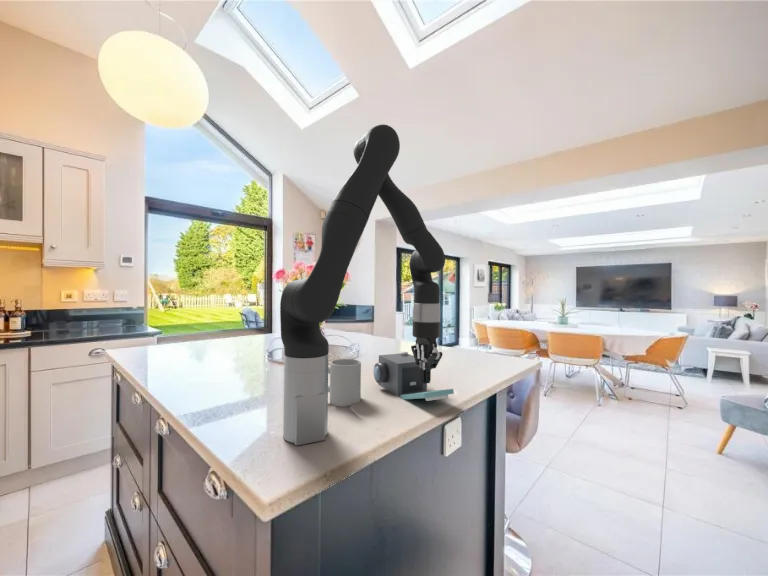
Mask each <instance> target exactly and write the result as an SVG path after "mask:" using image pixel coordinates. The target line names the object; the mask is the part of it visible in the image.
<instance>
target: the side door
mask: <svg viewBox="0 0 768 576" xmlns="http://www.w3.org/2000/svg"><path fill="white" fill-rule="evenodd" d="M454 392H455V391H454V388H447V389H446V388H445V389H437V390H427V391H425V392H418V393H412V394H405V395H400V396H399V397H400V398H401V399H402V400H414V399H415V400H416V399H418V400H419V399H425V401H426V402H429V401H430V402H431V401H435V400H442V399H447V398H449V395H453V394H455V393H454Z"/></svg>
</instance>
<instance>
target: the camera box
mask: <svg viewBox="0 0 768 576" xmlns="http://www.w3.org/2000/svg"><path fill="white" fill-rule="evenodd" d="M373 377H374V380H375V382H376V383H377V384H378V386H380V387H381V388H383V389H385V390H386V391H388V392H390V393H391V394H393V395H394V396H395V397H401V396H400V395H405V394H412V393H418V392H425V391H428V383H426V384H424V383H422V382H421V369H420V368H419V365H417V364H416V361H415V358H414V355H412V354H409V352H408V351H400V353H391V354H390V353H389V354H379V355H378V362H376V363H375V364H374V366H373Z"/></svg>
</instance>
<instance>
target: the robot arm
mask: <svg viewBox="0 0 768 576" xmlns="http://www.w3.org/2000/svg"><path fill="white" fill-rule="evenodd" d="M400 143H401V142H400V138H399V135H398V133H397V131H396V130H395V128H393V127H392V126H391V125H388V124H378V125H375V126H374V127H371V128H370V129H369V130H367V131H366V132H365V133H364V134H363V135H362V136H361V137H360V138H358V140H357V141H355V144H354V146H353V157H354V159H355V161H356V162H355V163H356V164H357V166H356V167H355V169H354V171H352V173H351V175H350V176H349V177H348V178H347V179H346V181H345V182H344V183H343V185H342V186H341V187H340V188H339V190H338V192H337V193H336V195H335V196H334V198H333V199H332V201H331V203H330V206H329V208H328V210H327V212H326V214H325V216H324V219H323V223H322V227H321V248H320V253H319V256H318V258H317V259H316V263H315V265H314V267H312V270H311V271H310V272H311V273H310V274H309V275H308V277H307V278H305V279H304V278H303V279H301V278H300V279H295V280H292V281H291V282H289V283H288V284H286V286H285V287H284V288H283V290H282V293H281V297H280V307H279V311H280V313H279V314H280V315H279V316H280V321H279V322H280V338H281V342H282V344H283V349H284V354H283V355H284V357H283V359H284V360H283V361H284V362H283V425H282V427H283V429H282V430H283V431H282V433H283V434H282V435H283V437H282V438H283V439H284V440H285V441H287V442H288V443H292V444H294V446H301V445H307V444H311V443H317V442H321V441H326V437H327V435H328V428H329V427H328V425H329V424H328V423H329V422H328V421H329V419H328V417H329V413H328V410H329V404H328V403H329V399H328V398H329V392H328V386H329V373H328V367H329V354H330V353H329V351H330V348H329V341H328V339H327V338H326V337H325V336H324V334H323V333H322V330H321V328H320V323H321V324H322V323H323V322H325V321H326V320H328V319H329V318H330V317H331V316H332V314H333V313H334V311H335V309H336V308H337V304H338V301H339V298H340V294H341V290H342V288H343V284H344V282H345V278H346V274H347V271H348V269H349V266H350V263H351V262H352V259H353V256H354V254H355V251H356V248H357V246H358V244H359V241H360V239H361V237H362V236H363V233H364V231H365V228H366V226H367V224H368V221H369V218H370V216H371V213H372V210H373V208H374V206H375V204H376V202H377V199H378V197H379V198H380V200H381V201H382V202H383V204H384V206H385V207H386V209H387V210H388V213H389V214H390V216H391V218H392V220H393V221H394V224H395V226H396V228H397V230H398V232H399V234H400V237H401V238H402V240H403V242H404V243H405V244H407V245H411V246H412V247H413V248H414V250H413V252H412V253H411V256H410V258H409V270H410V271H409V272H410V275H411V280H412V285H413V308H412V336H413V337H414V338H416V339H415V344H413V345H411V346H410V349H411V352H412V354H413V356H414V358H415V361H416V364H417V365H419V368H420V369H421V382H422V383H424V384H426V383H427V384H431V381H432V379H431V377H432V374H431V371H432V370H433V369H436V368H437V366H438V364H439V363H440V361H441V359H442V357H443V352H442V351H439V350H438V348H437V347H438V343H437V339H438V338H440V336H441V308H440V307H441V306H440V298H441V297H440V295H441V294H440V293H441V291H440V286H439V285H440V284H438V283H437V282H435V281H434V280H433V277H432V273H437V272H440V271H441V270H442V269H443V268H444V266H445V264H446V255H445V252H444V249H443V248H442V247H441V244H440V243H439V242H438V241H437V240H436V238H435V237H434V236H433V234H432V233H431V232H430V231H429V230H428V229H427V226H426V224H425V222H424V220H423V219H424V218H423V217H422V215H421V213H420V211H419V209H418V207H417V206H416V204H415V203H414V201H412V200H411V198H410V197H408V196H407V195H406V193H404V192H403V191H402V190H401V189H400V188H399V187H398V186H397V184H395V183H394V181H393V180H392V178H391V176H390V173H389V172H390V171H391V169H392V168H393V166H394V164H395V162H396V161H397V158H398V157H399V154H400V148H401V147H400V146H401V144H400Z"/></svg>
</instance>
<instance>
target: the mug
mask: <svg viewBox="0 0 768 576" xmlns="http://www.w3.org/2000/svg"><path fill="white" fill-rule="evenodd" d="M329 364H330V366H328V375H329V379H330V380H329V385H328V393H329V403H330V404H331V405H332V406H335V407H340V408H348V407H349V408H350V406H351V405H355V404H357V403H359V402H360V401H361V400H362V399H361V398H362V397H361V395H362V394H361V393H362V392H361V389H362V388H361V387H362V385H361V383H362V382H361V381H362V377H361V376H362V374H361V373H362V362H361V361H360V360H358V359H353V358H340V359H335V360H332V361H331V362H330V363H329Z"/></svg>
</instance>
